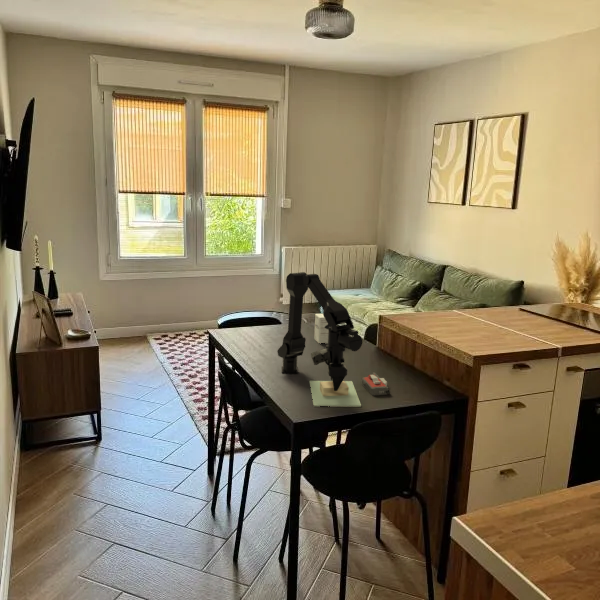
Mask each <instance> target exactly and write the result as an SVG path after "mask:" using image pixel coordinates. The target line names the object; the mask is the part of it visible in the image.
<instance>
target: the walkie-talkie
mask: <svg viewBox="0 0 600 600" xmlns="http://www.w3.org/2000/svg"><path fill="white" fill-rule="evenodd" d="M361 385H362V386H363V387H364V389H366V391H367V392H368V393H369V394H370V395H371V396H387V395H390V394H391V391H390V389H389V387H388V381H387V380H386V379H385V377H380V376H379V375H378V374H377V373H376V372H372V374H368V376H363V377H362V378H361Z"/></svg>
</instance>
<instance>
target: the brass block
mask: <svg viewBox="0 0 600 600" xmlns="http://www.w3.org/2000/svg"><path fill="white" fill-rule="evenodd" d="M325 381H326V382H320V391H321V393H322V395H323V396H342V395H348V390H349V387H348V385H347V384H346V382H345V381H346V380H343V381H342V383H341V385H340V387H339V389H338V390H337V391H334V387H333V381H331V380H325Z"/></svg>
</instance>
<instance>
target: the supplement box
mask: <svg viewBox="0 0 600 600" xmlns="http://www.w3.org/2000/svg"><path fill="white" fill-rule="evenodd" d="M327 324H328V323H327V321H326V319H325V317H324V316H323V313H315V314H314V338H313V339H314V341H316V342H317V343H318V344H319V343H320V344H321V343H325V344H328V329H326V328H325V326H326V325H327ZM320 344H319V345H320ZM321 345H322V344H321Z"/></svg>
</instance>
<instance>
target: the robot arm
mask: <svg viewBox="0 0 600 600" xmlns="http://www.w3.org/2000/svg"><path fill="white" fill-rule="evenodd" d="M285 278H286V279H285V282H286V284H285V285H286V290H287V292H288V294H289V306H288V307H289V309H288V326H287V332H286V334H284V336H283V338H282V345H280V347H279V348H278V349H277V356H278V357H280V358H281V359H282V366H281V374H299V367H298V357H299V356H300V357H301V356H303V354H304V351H305V348H306V339H307V338H306V337H304V335H303V334H302V323H303V322H302V320H303V304H304V296H305V295H306V294H307V292H308V290H309V291H311V293H312V295H313V296H314V298H315V299H316V301H317V303H318V304H319V305H320V306H321V308H322V309H323V310H322V314H323V316H324V317H325V319H326V321H327V323H328V324H327V325H326V326H325V328H326V329H328V343H326V345H325V348H323V349H319V350H316V351H314V352H311V353H310V356H311V359H312V363H313V365H314V366H317V365H319V364H322V363H325V364H326V365H327V375H328V376H329V377H330V379H331V380H330V381H333V387H334V391H337V390H338V389H339V387H340V385H341V383H342V381H344V379H345V378H346V377H347V376H348V368H347V366H346V365H345V364H344V363H345V358H344V357H345V352H346V350H350V351H351V352H357V351H359V350H360V349H361V347H362V345H363V339H362V336H361V335H360V334H359V331H358V330H356V329H355V326H354V323H353V320H352V319H351V316H350V313H349V311H348V309H347V308H346V307H345V306H344V305H343V304H342V303H341V302H339V301H336V300H335V298H333V296H332V295H331V294H330V292H329V291H328V288H326V286H325V285H324V283H323V282H322V281H321V278H320V276H319V275H318V273H317V274H316V273H310V274H307V273H306V272H304V271H302V272H291V273H289V274H287V276H286V277H285Z"/></svg>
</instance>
